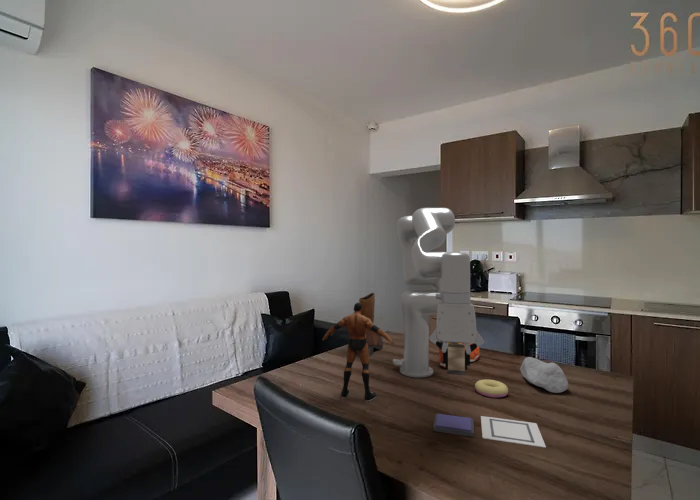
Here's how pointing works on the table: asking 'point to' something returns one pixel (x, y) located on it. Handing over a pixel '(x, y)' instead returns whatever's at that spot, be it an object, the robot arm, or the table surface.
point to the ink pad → (454, 425)
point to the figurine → (357, 346)
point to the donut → (491, 388)
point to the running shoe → (473, 355)
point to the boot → (368, 311)
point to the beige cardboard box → (456, 359)
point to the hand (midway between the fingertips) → (456, 366)
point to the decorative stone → (544, 375)
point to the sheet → (511, 431)
